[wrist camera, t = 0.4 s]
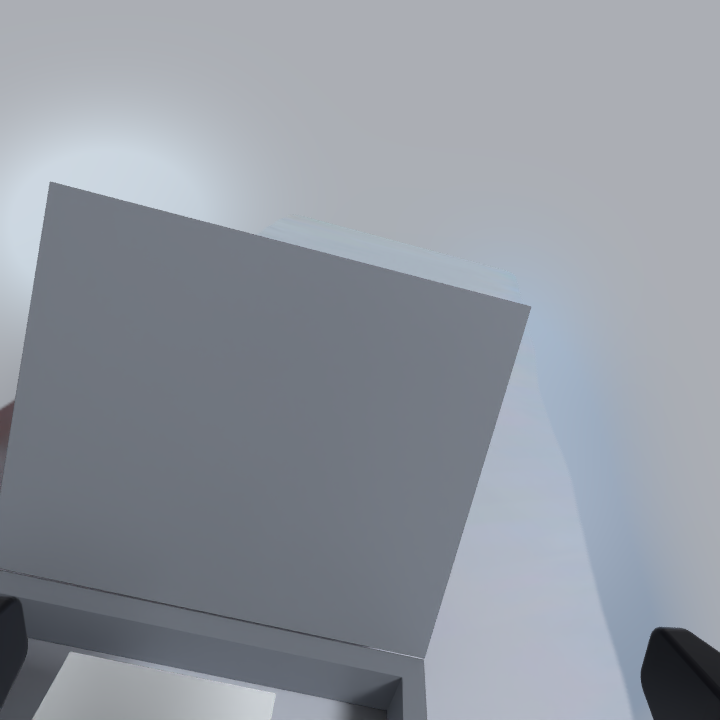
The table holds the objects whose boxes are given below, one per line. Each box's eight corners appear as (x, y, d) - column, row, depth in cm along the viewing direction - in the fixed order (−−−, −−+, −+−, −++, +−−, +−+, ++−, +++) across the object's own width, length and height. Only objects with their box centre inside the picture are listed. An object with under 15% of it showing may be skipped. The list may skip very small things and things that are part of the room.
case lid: (531, 306, 22) (523, 304, 23) (49, 181, 21) (63, 185, 21) (424, 658, 24) (421, 643, 25) (-12, 566, 23) (3, 553, 24)
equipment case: (428, 1474, 11) (680, 1521, 7) (-583, 1363, 10) (-1132, 1327, 5) (404, 562, 32) (460, 424, 28) (80, 490, 31) (83, 333, 26)
